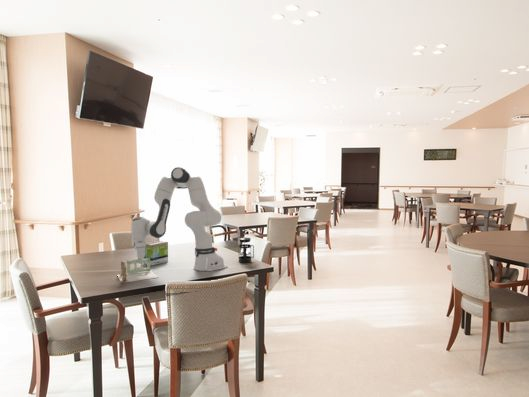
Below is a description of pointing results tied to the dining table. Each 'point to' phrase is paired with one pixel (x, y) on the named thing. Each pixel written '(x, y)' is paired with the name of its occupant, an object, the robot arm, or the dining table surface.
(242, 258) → the french press
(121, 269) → the hinge post
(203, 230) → the robot arm
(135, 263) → the gate
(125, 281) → the latch post
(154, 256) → the tea box
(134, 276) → the mat
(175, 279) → the dining table surface
